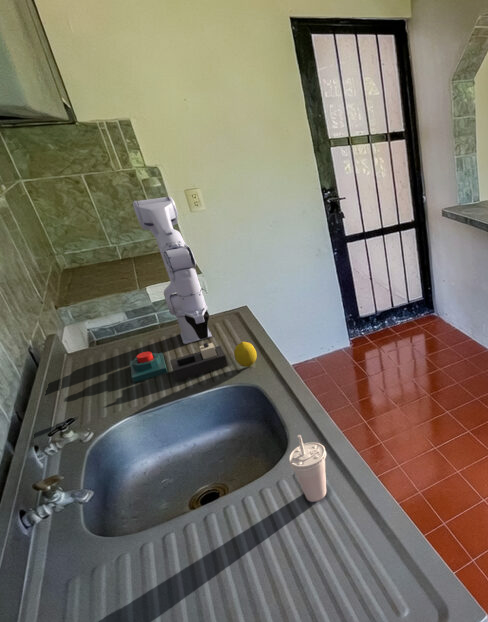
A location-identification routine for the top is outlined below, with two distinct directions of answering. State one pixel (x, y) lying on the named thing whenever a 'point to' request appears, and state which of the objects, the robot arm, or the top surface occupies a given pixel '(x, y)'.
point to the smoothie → (310, 469)
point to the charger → (207, 350)
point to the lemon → (245, 354)
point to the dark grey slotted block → (197, 364)
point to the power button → (144, 357)
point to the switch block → (148, 368)
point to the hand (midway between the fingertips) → (203, 337)
